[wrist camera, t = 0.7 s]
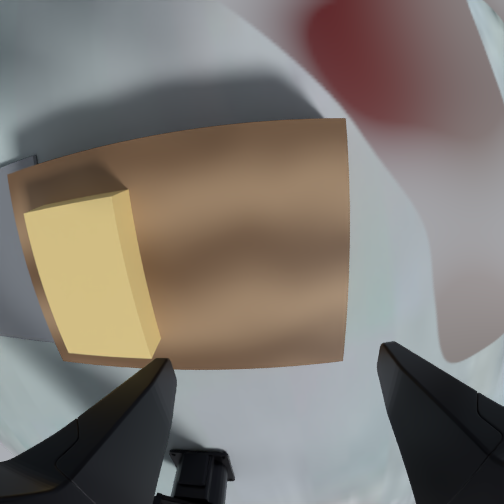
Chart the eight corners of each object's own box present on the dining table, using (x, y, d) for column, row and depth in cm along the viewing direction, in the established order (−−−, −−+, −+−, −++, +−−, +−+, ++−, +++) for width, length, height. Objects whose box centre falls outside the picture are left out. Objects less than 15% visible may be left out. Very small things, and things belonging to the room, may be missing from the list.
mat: (84, 342, 23) (82, 345, 23) (-2, 333, 24) (-4, 334, 24) (36, 154, 18) (32, 155, 18) (-45, 188, 19) (-48, 189, 18)
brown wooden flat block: (331, 326, 22) (342, 360, 18) (84, 333, 23) (63, 360, 19) (328, 122, 17) (345, 118, 13) (42, 166, 18) (7, 174, 15)
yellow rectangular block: (160, 338, 18) (151, 358, 16) (81, 335, 18) (68, 352, 16) (128, 189, 15) (111, 196, 13) (44, 205, 15) (23, 213, 13)
